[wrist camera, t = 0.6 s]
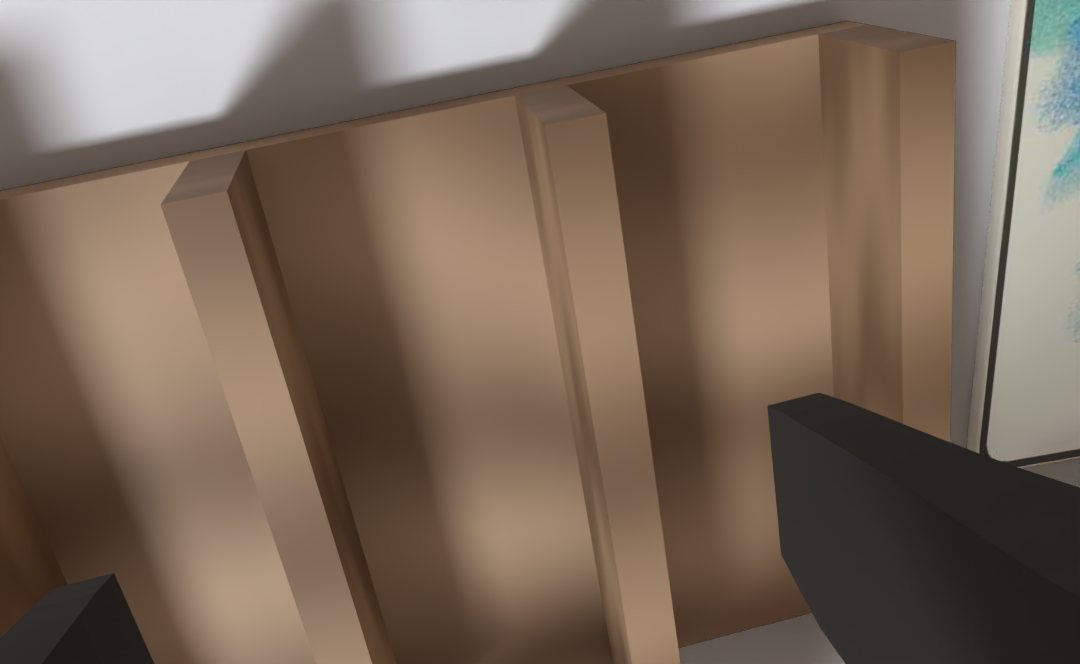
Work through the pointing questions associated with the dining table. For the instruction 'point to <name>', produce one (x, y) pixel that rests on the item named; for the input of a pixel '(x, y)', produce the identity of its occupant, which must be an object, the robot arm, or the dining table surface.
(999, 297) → the smartphone
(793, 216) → the rack
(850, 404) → the robot arm
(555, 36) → the dining table surface
